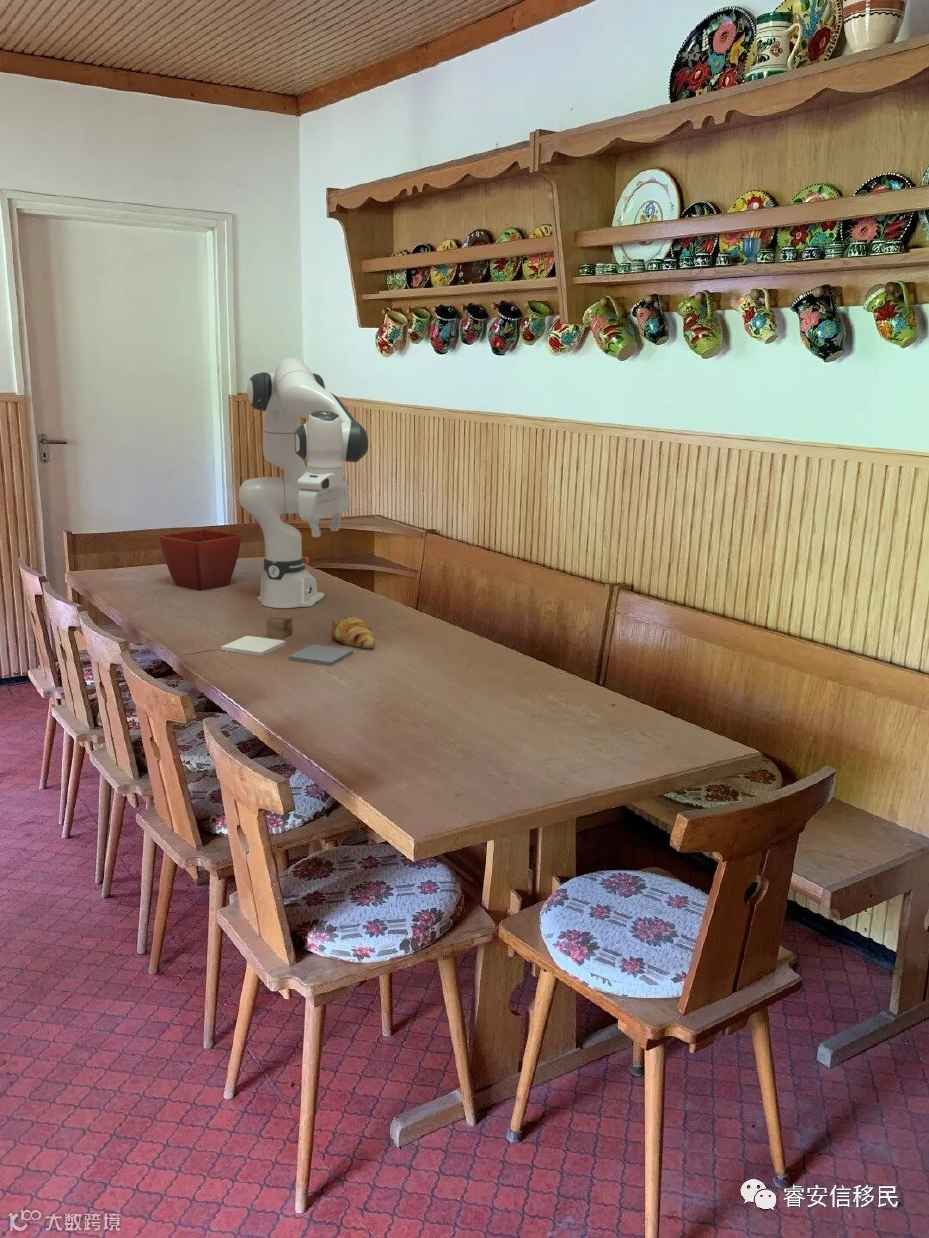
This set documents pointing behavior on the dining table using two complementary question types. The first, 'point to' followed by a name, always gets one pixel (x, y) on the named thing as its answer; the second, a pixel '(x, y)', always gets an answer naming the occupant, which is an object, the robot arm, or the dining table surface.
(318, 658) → the pad
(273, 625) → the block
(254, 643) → the pad
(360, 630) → the croissant
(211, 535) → the plant pot
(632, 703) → the dining table surface
